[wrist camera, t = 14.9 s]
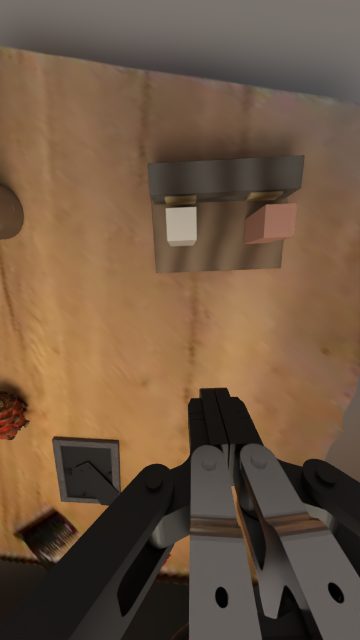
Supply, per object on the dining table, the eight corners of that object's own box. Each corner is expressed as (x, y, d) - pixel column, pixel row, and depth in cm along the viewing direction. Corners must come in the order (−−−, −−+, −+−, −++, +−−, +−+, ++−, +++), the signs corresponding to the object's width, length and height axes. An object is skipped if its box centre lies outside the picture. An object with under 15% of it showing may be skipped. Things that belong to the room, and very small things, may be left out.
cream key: (171, 246, 36) (167, 241, 27) (169, 222, 35) (165, 208, 26) (193, 245, 36) (196, 239, 27) (192, 221, 35) (196, 206, 26)
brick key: (243, 244, 36) (263, 237, 27) (245, 219, 35) (265, 204, 26) (266, 243, 36) (293, 236, 27) (268, 218, 34) (297, 203, 26)
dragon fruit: (18, 376, 47) (34, 413, 52) (-32, 392, 42) (-8, 431, 47) (17, 398, 41) (36, 438, 45) (-42, 420, 36) (-14, 461, 41)
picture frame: (121, 498, 56) (119, 438, 50) (119, 506, 54) (117, 445, 48) (64, 495, 56) (55, 434, 50) (60, 503, 54) (50, 441, 48)
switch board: (157, 272, 38) (152, 274, 33) (150, 176, 34) (143, 158, 28) (278, 267, 38) (295, 268, 32) (287, 169, 34) (308, 150, 28)
